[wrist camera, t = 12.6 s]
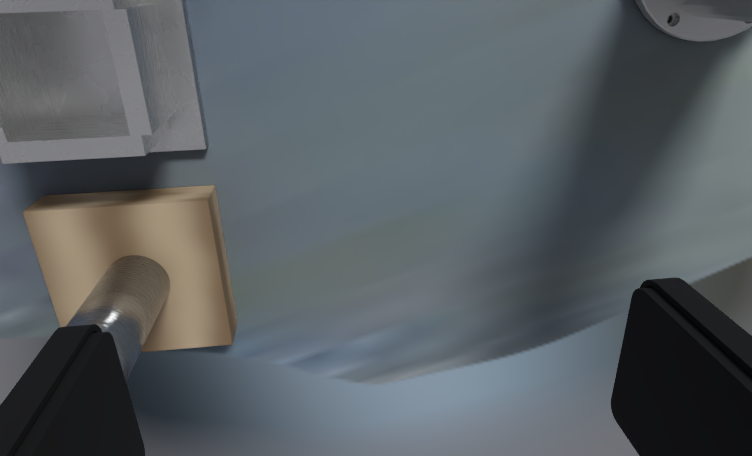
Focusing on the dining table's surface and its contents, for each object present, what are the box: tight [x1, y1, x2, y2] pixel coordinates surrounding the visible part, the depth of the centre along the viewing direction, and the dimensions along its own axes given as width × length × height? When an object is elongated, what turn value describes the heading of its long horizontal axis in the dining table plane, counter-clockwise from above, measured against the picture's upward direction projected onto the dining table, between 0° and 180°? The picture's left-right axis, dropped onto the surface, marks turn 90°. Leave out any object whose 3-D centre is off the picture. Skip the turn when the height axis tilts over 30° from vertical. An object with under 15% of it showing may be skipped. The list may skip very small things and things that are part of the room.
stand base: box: [0, 0, 208, 164], centre depth 32 cm, size 12×12×7 cm
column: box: [0, 255, 170, 406], centre depth 32 cm, size 5×5×15 cm
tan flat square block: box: [23, 185, 237, 352], centre depth 40 cm, size 12×12×3 cm
